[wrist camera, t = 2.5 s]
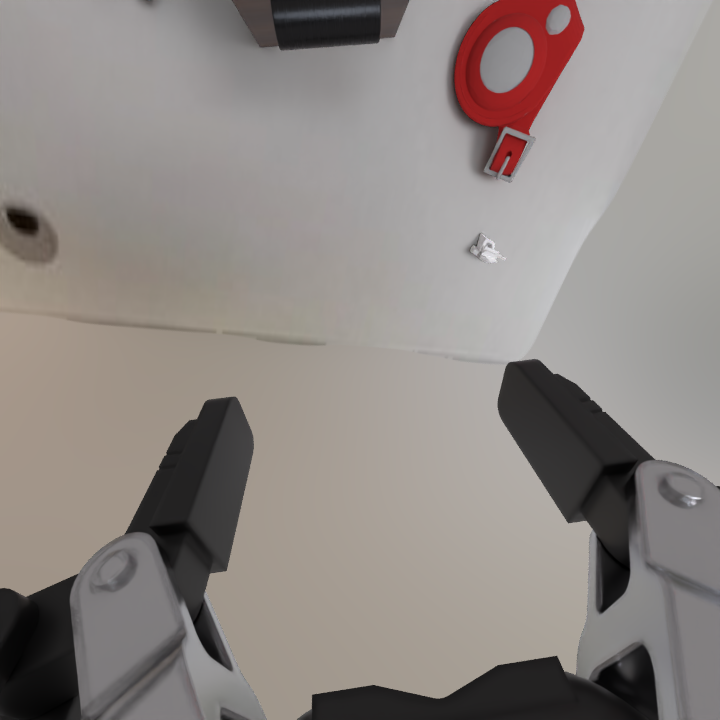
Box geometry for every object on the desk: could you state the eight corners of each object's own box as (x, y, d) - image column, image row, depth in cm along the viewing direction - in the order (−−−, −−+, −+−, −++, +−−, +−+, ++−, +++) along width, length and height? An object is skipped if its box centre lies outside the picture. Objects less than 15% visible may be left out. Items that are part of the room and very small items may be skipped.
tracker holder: (430, 51, 25) (567, -78, 20) (434, 71, 29) (550, -35, 24) (496, 192, 28) (628, 107, 23) (491, 193, 32) (604, 120, 27)
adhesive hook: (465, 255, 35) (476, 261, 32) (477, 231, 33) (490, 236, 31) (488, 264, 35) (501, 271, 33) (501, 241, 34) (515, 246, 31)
